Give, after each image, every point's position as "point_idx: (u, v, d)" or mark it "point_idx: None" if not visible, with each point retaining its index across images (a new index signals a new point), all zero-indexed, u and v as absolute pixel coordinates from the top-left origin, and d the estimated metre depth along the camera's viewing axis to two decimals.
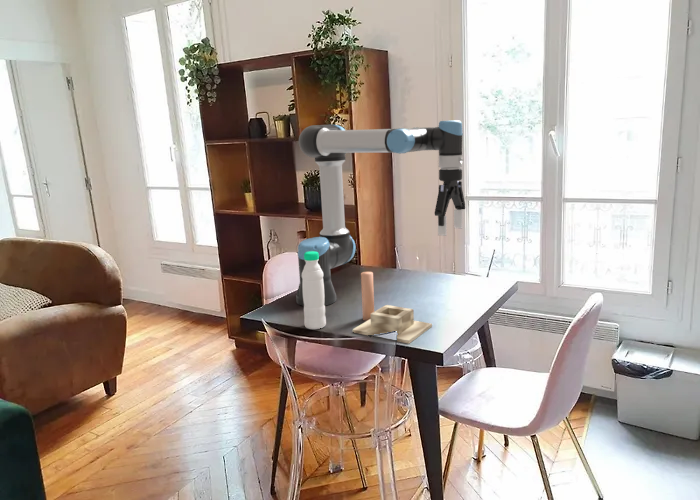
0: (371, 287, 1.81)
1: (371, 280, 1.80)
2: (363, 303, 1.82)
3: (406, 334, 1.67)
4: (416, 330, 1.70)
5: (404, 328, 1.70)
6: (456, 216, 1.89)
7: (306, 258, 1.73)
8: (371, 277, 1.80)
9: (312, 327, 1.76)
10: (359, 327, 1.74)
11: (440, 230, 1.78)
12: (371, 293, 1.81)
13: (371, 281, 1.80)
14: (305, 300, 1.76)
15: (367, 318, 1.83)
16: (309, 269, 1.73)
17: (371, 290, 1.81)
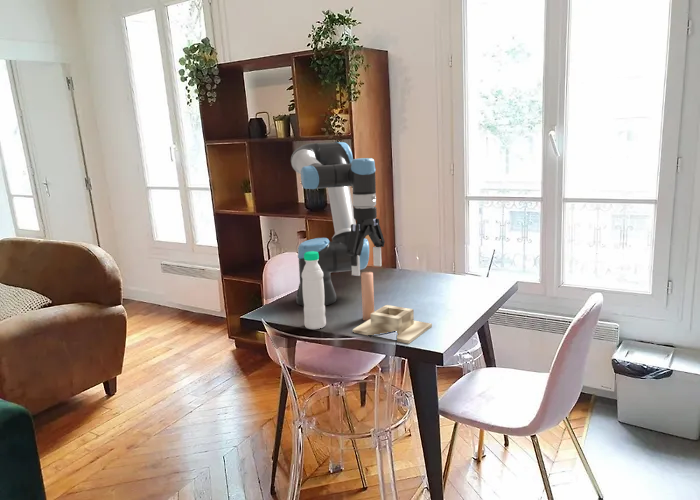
0: (371, 287, 1.81)
1: (371, 280, 1.80)
2: (363, 303, 1.82)
3: (406, 334, 1.67)
4: (416, 330, 1.70)
5: (404, 328, 1.70)
6: (375, 254, 1.85)
7: (306, 258, 1.73)
8: (371, 277, 1.80)
9: (312, 327, 1.76)
10: (359, 327, 1.74)
11: (354, 270, 1.75)
12: (371, 293, 1.81)
13: (371, 281, 1.80)
14: (305, 300, 1.76)
15: (367, 318, 1.83)
16: (309, 269, 1.73)
17: (371, 290, 1.81)
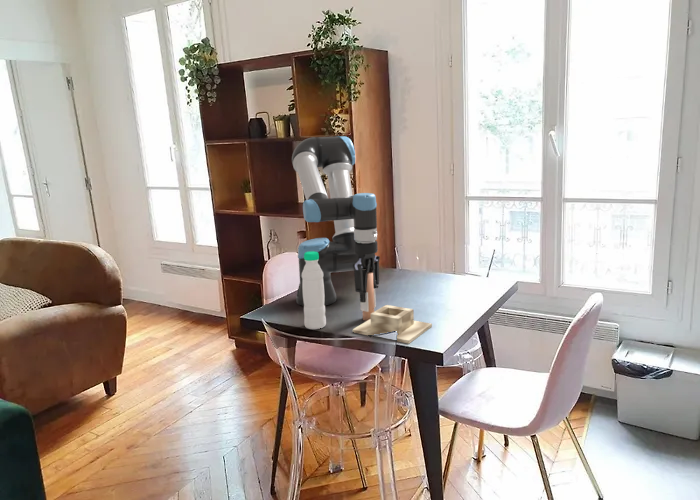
0: (371, 287, 1.81)
1: (371, 280, 1.80)
2: None
3: (406, 334, 1.67)
4: (416, 330, 1.70)
5: (404, 328, 1.70)
6: None
7: (306, 258, 1.73)
8: (371, 277, 1.80)
9: (312, 327, 1.76)
10: (359, 327, 1.74)
11: (362, 306, 1.82)
12: (371, 293, 1.81)
13: (371, 281, 1.80)
14: (305, 300, 1.76)
15: (367, 318, 1.83)
16: (309, 269, 1.73)
17: (371, 290, 1.81)
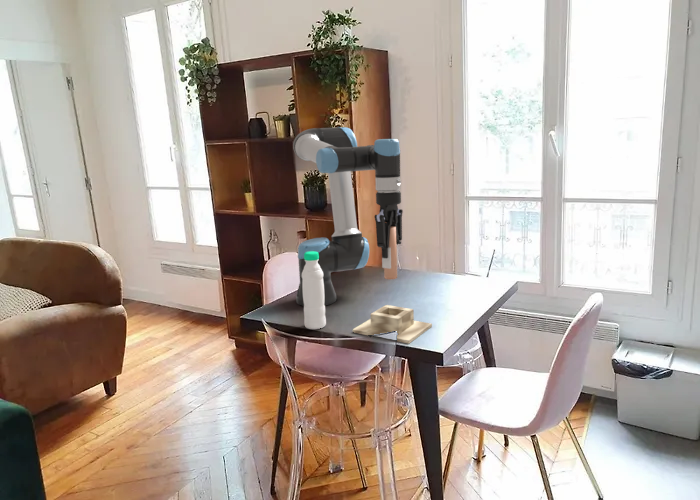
0: (394, 242, 1.67)
1: (394, 234, 1.66)
2: None
3: (406, 334, 1.67)
4: (416, 330, 1.70)
5: (404, 328, 1.70)
6: None
7: (306, 258, 1.73)
8: (394, 231, 1.66)
9: (312, 327, 1.76)
10: (359, 327, 1.74)
11: (384, 262, 1.67)
12: (394, 249, 1.67)
13: (394, 235, 1.66)
14: (305, 300, 1.76)
15: (389, 276, 1.68)
16: (309, 269, 1.73)
17: (394, 246, 1.67)
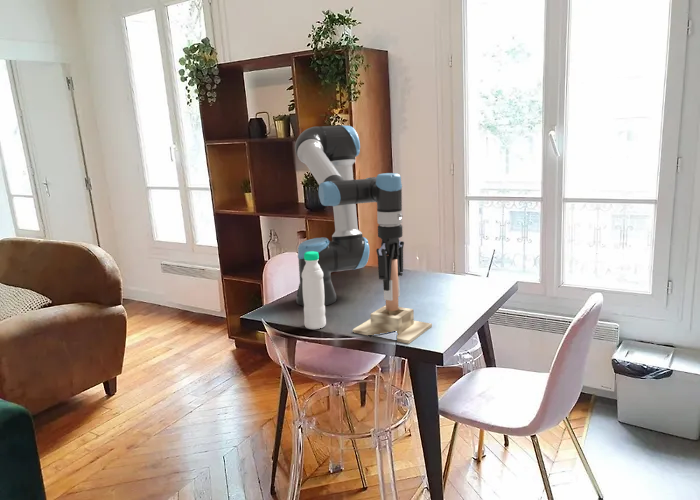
0: (395, 275, 1.69)
1: (395, 267, 1.68)
2: None
3: (406, 334, 1.67)
4: (416, 330, 1.70)
5: (404, 328, 1.70)
6: None
7: (306, 258, 1.73)
8: (395, 264, 1.68)
9: (312, 327, 1.76)
10: (359, 327, 1.74)
11: (386, 294, 1.69)
12: (395, 281, 1.69)
13: (395, 268, 1.68)
14: (305, 300, 1.76)
15: (391, 308, 1.71)
16: (309, 269, 1.73)
17: (395, 278, 1.69)
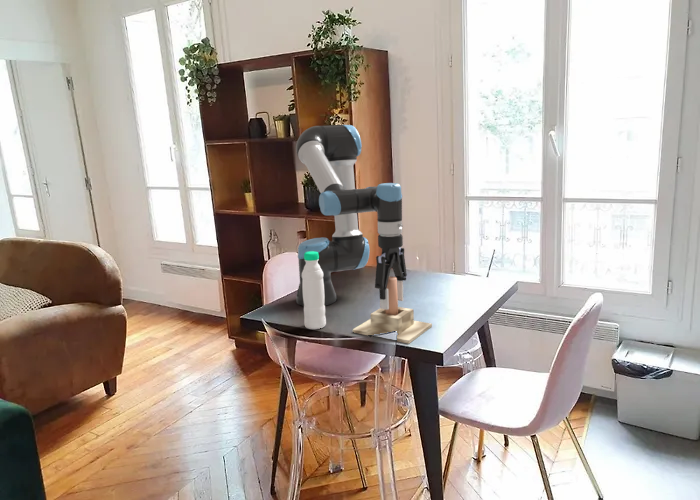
0: (395, 293, 1.70)
1: (395, 286, 1.69)
2: (387, 310, 1.71)
3: (406, 334, 1.67)
4: (416, 330, 1.70)
5: (404, 328, 1.70)
6: None
7: (306, 258, 1.73)
8: (395, 283, 1.69)
9: (312, 327, 1.76)
10: (359, 327, 1.74)
11: (382, 303, 1.68)
12: (395, 299, 1.70)
13: (395, 287, 1.69)
14: (305, 300, 1.76)
15: None
16: (309, 269, 1.73)
17: (395, 297, 1.70)
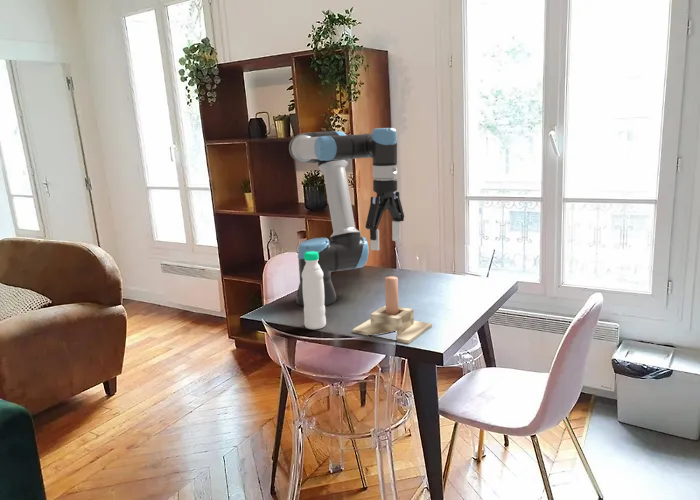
0: (396, 293, 1.70)
1: (396, 285, 1.70)
2: (387, 310, 1.72)
3: (406, 334, 1.67)
4: (416, 330, 1.70)
5: (404, 328, 1.70)
6: (394, 228, 1.79)
7: (306, 258, 1.73)
8: (396, 282, 1.69)
9: (312, 327, 1.76)
10: (359, 327, 1.74)
11: (373, 244, 1.69)
12: (396, 299, 1.70)
13: (396, 286, 1.70)
14: (305, 300, 1.76)
15: None
16: (309, 269, 1.73)
17: (396, 296, 1.70)
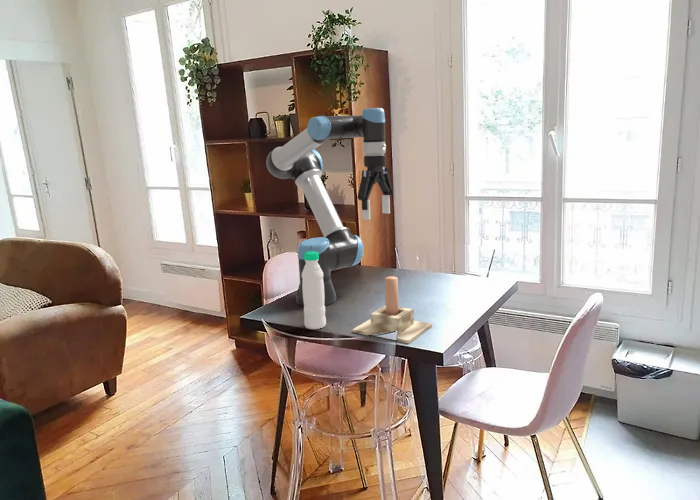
0: (396, 293, 1.70)
1: (396, 285, 1.70)
2: (387, 310, 1.72)
3: (406, 334, 1.67)
4: (416, 330, 1.70)
5: (404, 328, 1.70)
6: (384, 201, 1.96)
7: (306, 258, 1.73)
8: (396, 282, 1.69)
9: (312, 327, 1.76)
10: (359, 327, 1.74)
11: (364, 214, 1.85)
12: (396, 299, 1.70)
13: (396, 286, 1.70)
14: (305, 300, 1.76)
15: None
16: (309, 269, 1.73)
17: (396, 296, 1.70)
